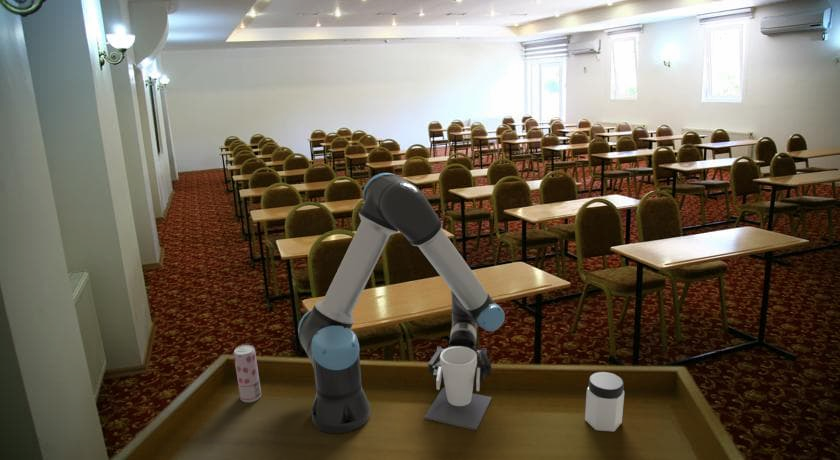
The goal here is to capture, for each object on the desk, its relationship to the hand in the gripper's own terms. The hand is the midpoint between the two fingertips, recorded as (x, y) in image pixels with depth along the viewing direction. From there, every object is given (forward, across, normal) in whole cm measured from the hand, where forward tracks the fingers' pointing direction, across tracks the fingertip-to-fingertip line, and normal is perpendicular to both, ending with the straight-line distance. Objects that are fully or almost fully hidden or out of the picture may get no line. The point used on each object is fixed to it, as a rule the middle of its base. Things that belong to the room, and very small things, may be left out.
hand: (457, 385), depth 153 cm
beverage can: (-5, +58, -10) cm, 59 cm away
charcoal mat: (-4, 0, -10) cm, 11 cm away
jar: (-2, -36, -10) cm, 38 cm away
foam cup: (-4, 0, -7) cm, 8 cm away
